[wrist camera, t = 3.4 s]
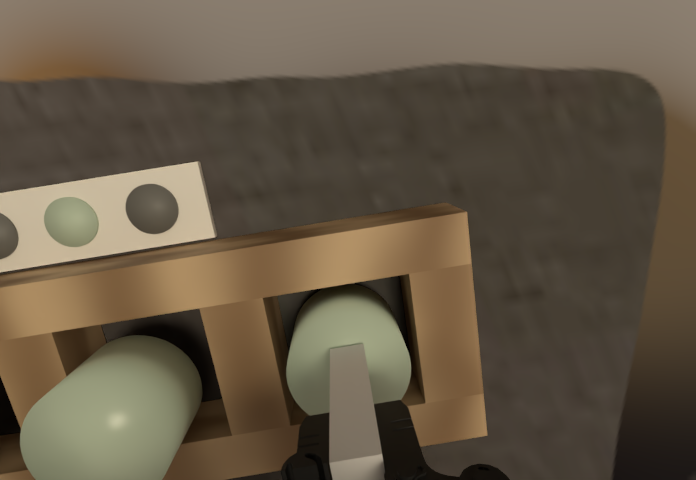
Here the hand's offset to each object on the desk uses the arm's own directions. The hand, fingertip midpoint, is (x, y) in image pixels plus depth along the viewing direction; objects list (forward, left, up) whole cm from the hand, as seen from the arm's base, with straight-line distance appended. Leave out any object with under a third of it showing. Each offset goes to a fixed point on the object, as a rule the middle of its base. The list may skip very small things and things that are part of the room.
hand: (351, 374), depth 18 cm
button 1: (0, 0, -4) cm, 4 cm away
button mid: (-10, 0, -2) cm, 10 cm away
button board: (-10, 0, -6) cm, 12 cm away
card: (-13, +8, -6) cm, 16 cm away
